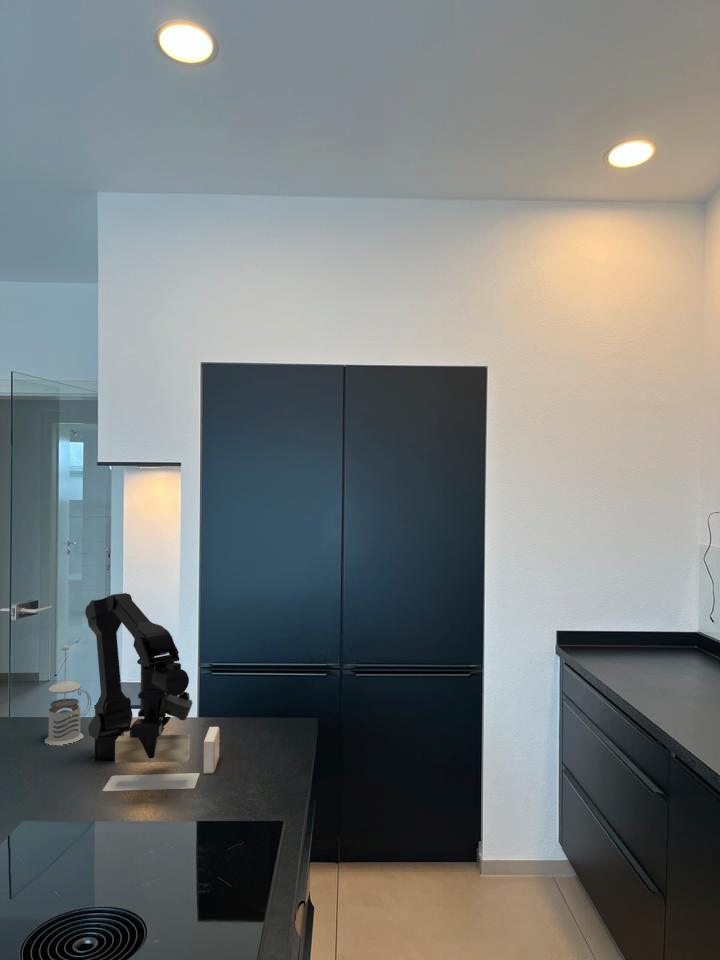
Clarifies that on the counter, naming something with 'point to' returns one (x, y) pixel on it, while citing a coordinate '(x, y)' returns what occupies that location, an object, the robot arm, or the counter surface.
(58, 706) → the french press
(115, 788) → the mat
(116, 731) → the robot arm
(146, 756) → the beige rectangular block
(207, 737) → the glazed tile
